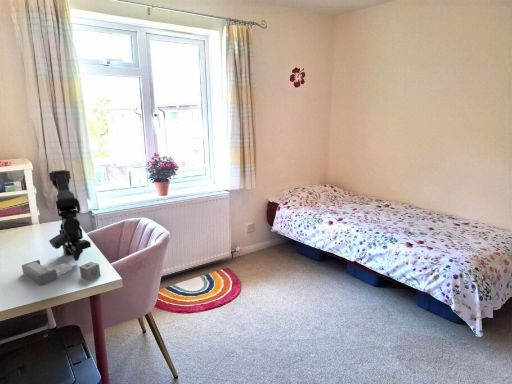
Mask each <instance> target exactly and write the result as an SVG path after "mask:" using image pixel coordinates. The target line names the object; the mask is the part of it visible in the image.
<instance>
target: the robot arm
mask: <svg viewBox="0 0 512 384" xmlns="http://www.w3.org/2000/svg"><path fill="white" fill-rule="evenodd" d="M48 176H49V182H51V184H52V186H53V187H54V189H55V190H56V191H57V194H56V200H55V205H56V210H57V215H58V217H60V218H61V219H60V220H61V224H60V229H59V234H58V235H57V234H56V235H55V236H54V237H52V238H51V239H49V240H48V242H49V244H50V245H51V246H52V248H53V249H56V250H57V249H60V248H61V247H62V251H63V254H65V255H67V256H69V257H70V256H72V258H73V260H74V262H77V261H79V259H80V256H81V253H82V252H84V250H86V249H89V248H91V247H92V245H91V244H92V243H91V242H90V241H89V240H87V239H83V238H84V237H83V235H84V234H83V229H82V228H81V222H80V220H79V218H78V215H77V214H80V213H81V212H80V211H81V204H80V202H79V199H78V198H77V197H75V194H74V193H73V192H72V191H70V187H69V185H70V180H71V179H72V177H71V171H70V170H66V169H60V170H59V169H58V170H52V171H51V172H49V173H48Z"/></svg>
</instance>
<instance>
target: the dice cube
mask: <svg viewBox="0 0 512 384" xmlns="http://www.w3.org/2000/svg"><path fill="white" fill-rule="evenodd" d="M79 272H80V279H82V280H85V281H87V282H89V281H92V280H94V279H96V278H99V277H101V270H100V264H99V263H96V262H93V261H89V262H87V263H84V264H82V265H80V266H79Z"/></svg>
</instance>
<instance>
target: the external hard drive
mask: <svg viewBox="0 0 512 384" xmlns="http://www.w3.org/2000/svg"><path fill="white" fill-rule="evenodd" d="M47 269H48V270H50V271H51V270H54V269H55V270H56V273H57V276H60V275H62V274H65V273H67V272H70V271H73V267H71V266H70V265H68V264H67V263H61V264H58V265H54V266H51V267H49V268H47Z"/></svg>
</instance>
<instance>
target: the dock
mask: <svg viewBox="0 0 512 384" xmlns="http://www.w3.org/2000/svg"><path fill="white" fill-rule="evenodd" d="M21 269H22V273H23V275H24V276H25V277H27V278H28V279H30V280H31V281H32V282H33V283H35V284H36V285H38V286H40V287H41V286H43V285H46V284H50V283H53V282H55V281H58V275H57V273H56V270H55V269H54V270H51V271H50V270H48V268H47V267H45V266H43V265H41V261H40V259H37V260H34V261H31V262H28V263H24V264H22V265H21Z"/></svg>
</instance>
